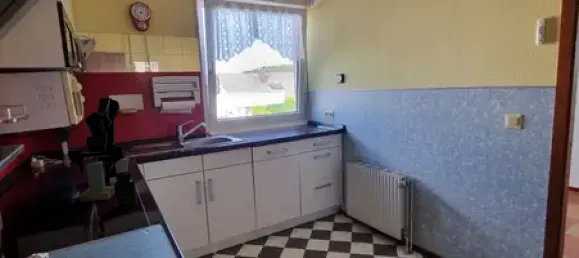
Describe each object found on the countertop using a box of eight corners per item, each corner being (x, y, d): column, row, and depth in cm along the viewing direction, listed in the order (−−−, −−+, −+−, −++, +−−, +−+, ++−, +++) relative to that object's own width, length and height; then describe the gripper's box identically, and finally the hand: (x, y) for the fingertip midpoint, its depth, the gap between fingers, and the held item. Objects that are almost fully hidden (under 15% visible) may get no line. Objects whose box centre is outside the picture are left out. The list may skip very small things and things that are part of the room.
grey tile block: (110, 187, 143) (109, 178, 143) (130, 183, 147) (129, 174, 147) (111, 191, 136) (110, 182, 136) (132, 188, 140) (132, 178, 140)
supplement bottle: (117, 204, 120) (114, 172, 119) (137, 201, 123) (134, 170, 121) (114, 210, 114) (111, 176, 112) (136, 207, 116) (133, 174, 115)
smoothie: (132, 178, 155) (131, 149, 154) (122, 181, 149) (121, 151, 148) (121, 177, 157) (120, 148, 155) (111, 180, 151) (109, 150, 149)
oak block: (91, 194, 134) (90, 187, 134) (117, 192, 136) (116, 185, 135) (80, 203, 124) (79, 195, 124) (108, 200, 126) (107, 193, 126)
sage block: (92, 189, 131) (89, 162, 129) (105, 187, 132) (102, 161, 131) (89, 192, 127) (86, 165, 125) (103, 191, 128) (100, 163, 126)
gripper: (66, 130, 127) (61, 164, 118) (120, 126, 133) (118, 158, 124) (74, 146, 136) (70, 179, 127) (125, 142, 142) (123, 173, 133)
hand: (95, 172), depth 127 cm, fingers open, 9 cm apart
